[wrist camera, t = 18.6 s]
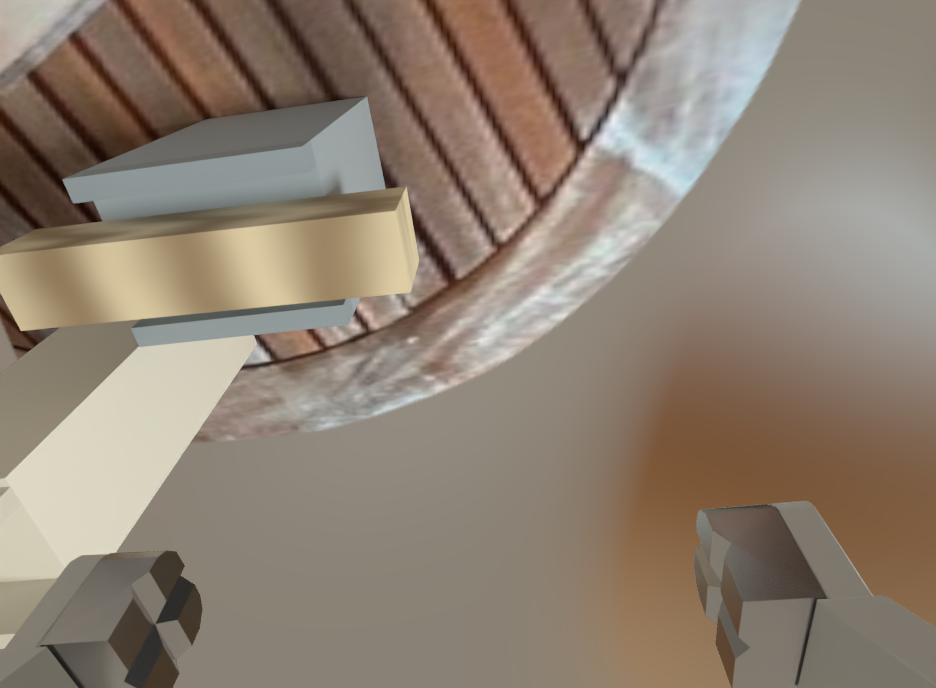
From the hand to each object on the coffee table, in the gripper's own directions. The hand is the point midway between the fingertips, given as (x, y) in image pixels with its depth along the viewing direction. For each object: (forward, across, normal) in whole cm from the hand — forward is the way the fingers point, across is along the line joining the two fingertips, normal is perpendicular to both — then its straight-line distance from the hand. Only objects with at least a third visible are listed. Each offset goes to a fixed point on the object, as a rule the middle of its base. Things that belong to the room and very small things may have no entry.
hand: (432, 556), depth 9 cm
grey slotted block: (+39, +14, +2) cm, 41 cm away
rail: (+24, +13, +2) cm, 27 cm away
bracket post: (+39, +26, +12) cm, 48 cm away
